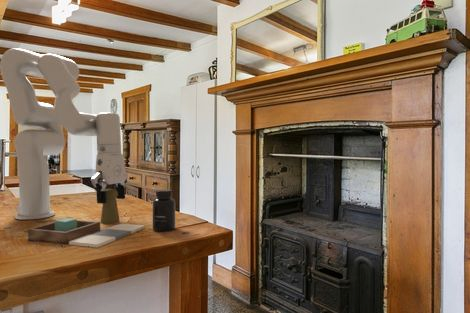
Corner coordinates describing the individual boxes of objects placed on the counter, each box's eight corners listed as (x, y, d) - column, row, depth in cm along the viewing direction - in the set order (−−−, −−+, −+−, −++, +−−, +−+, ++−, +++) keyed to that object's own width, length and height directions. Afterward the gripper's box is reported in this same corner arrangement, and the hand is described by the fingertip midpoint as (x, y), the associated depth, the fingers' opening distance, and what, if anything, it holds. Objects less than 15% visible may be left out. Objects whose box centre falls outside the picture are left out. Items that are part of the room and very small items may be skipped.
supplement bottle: (155, 233, 99) (155, 192, 99) (150, 228, 106) (149, 189, 105) (178, 230, 103) (178, 190, 102) (171, 225, 109) (171, 188, 108)
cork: (113, 223, 112) (112, 190, 111) (96, 223, 113) (96, 190, 112) (123, 219, 118) (122, 188, 117) (107, 219, 119) (106, 187, 118)
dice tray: (28, 240, 93) (28, 229, 93) (65, 228, 105) (65, 219, 105) (65, 244, 89) (65, 232, 89) (100, 231, 101) (100, 221, 101)
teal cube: (55, 234, 96) (54, 220, 96) (66, 231, 100) (66, 218, 100) (65, 236, 95) (65, 221, 95) (77, 232, 99) (76, 219, 98)
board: (69, 244, 89) (68, 241, 89) (120, 226, 109) (120, 223, 108) (97, 247, 86) (97, 244, 86) (144, 228, 106) (144, 225, 106)
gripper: (100, 150, 105) (103, 205, 105) (134, 149, 121) (136, 197, 122) (81, 150, 107) (83, 205, 108) (116, 149, 124) (118, 197, 124)
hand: (111, 200), depth 115 cm, fingers open, 9 cm apart
